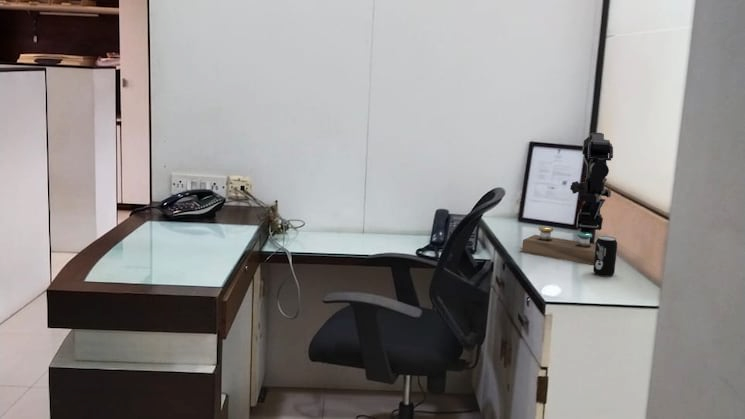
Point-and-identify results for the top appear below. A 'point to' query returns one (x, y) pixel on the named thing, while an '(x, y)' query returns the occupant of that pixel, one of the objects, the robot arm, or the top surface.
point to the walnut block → (559, 249)
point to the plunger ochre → (545, 233)
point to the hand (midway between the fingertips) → (592, 218)
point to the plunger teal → (584, 239)
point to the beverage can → (605, 256)
